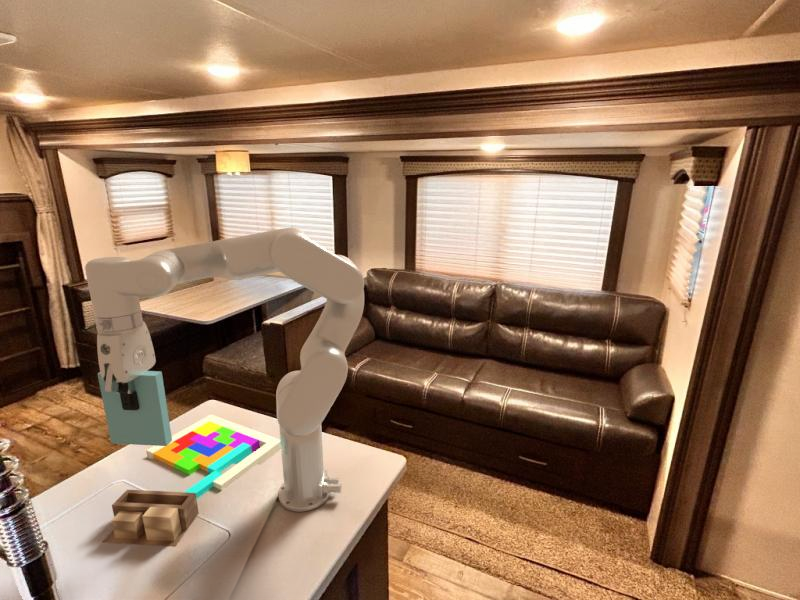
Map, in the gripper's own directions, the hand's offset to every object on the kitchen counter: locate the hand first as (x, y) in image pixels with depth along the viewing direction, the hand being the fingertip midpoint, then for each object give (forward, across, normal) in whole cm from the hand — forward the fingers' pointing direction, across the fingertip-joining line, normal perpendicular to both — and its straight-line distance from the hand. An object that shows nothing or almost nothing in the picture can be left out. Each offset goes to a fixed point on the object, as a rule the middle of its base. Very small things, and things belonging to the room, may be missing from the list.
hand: (135, 405), depth 86 cm
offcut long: (+28, -4, -5) cm, 29 cm away
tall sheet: (+9, 0, 0) cm, 9 cm away
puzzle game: (+30, +21, +1) cm, 37 cm away
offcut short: (+28, -4, +3) cm, 29 cm away
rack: (+29, -2, -1) cm, 29 cm away
